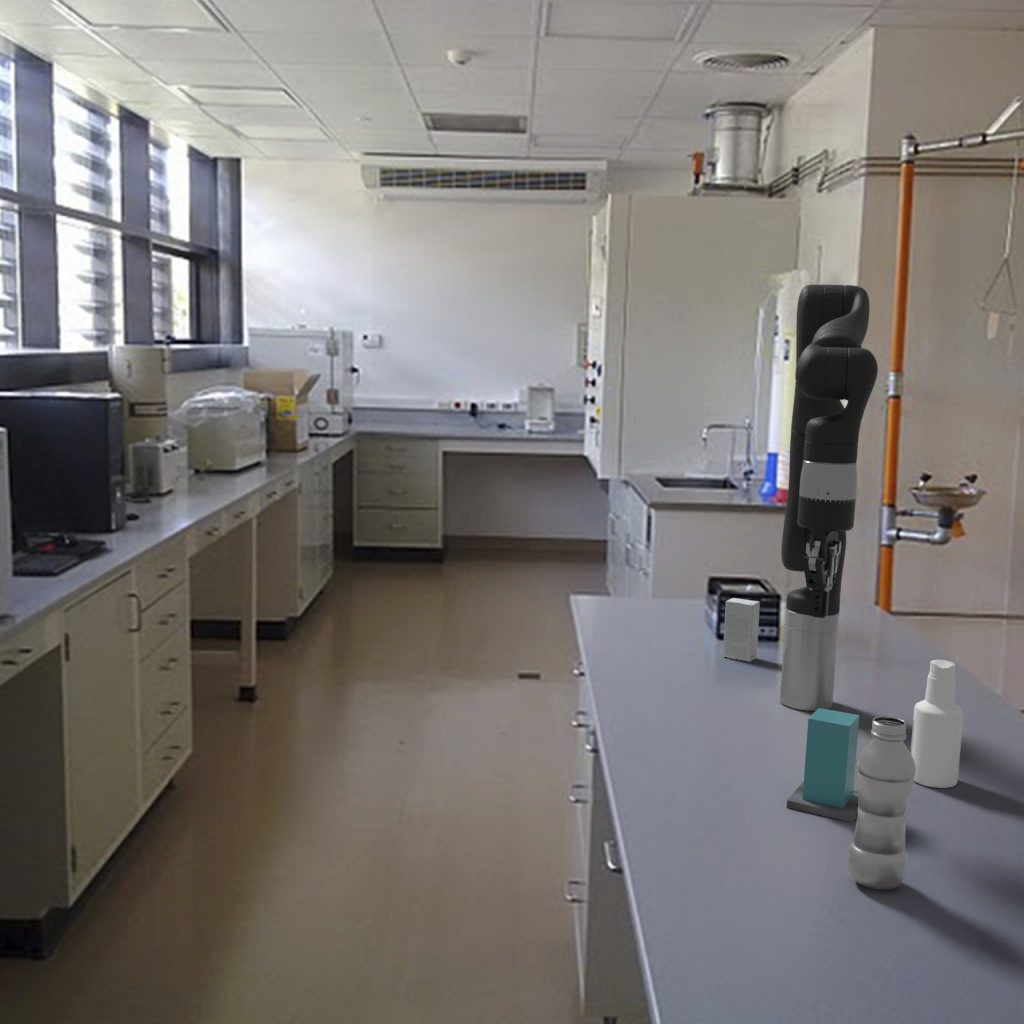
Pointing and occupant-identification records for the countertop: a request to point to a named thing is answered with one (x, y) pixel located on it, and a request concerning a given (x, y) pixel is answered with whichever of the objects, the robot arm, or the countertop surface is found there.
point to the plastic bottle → (882, 806)
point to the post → (824, 806)
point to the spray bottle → (937, 729)
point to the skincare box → (741, 629)
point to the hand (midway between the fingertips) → (818, 616)
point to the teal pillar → (830, 757)
